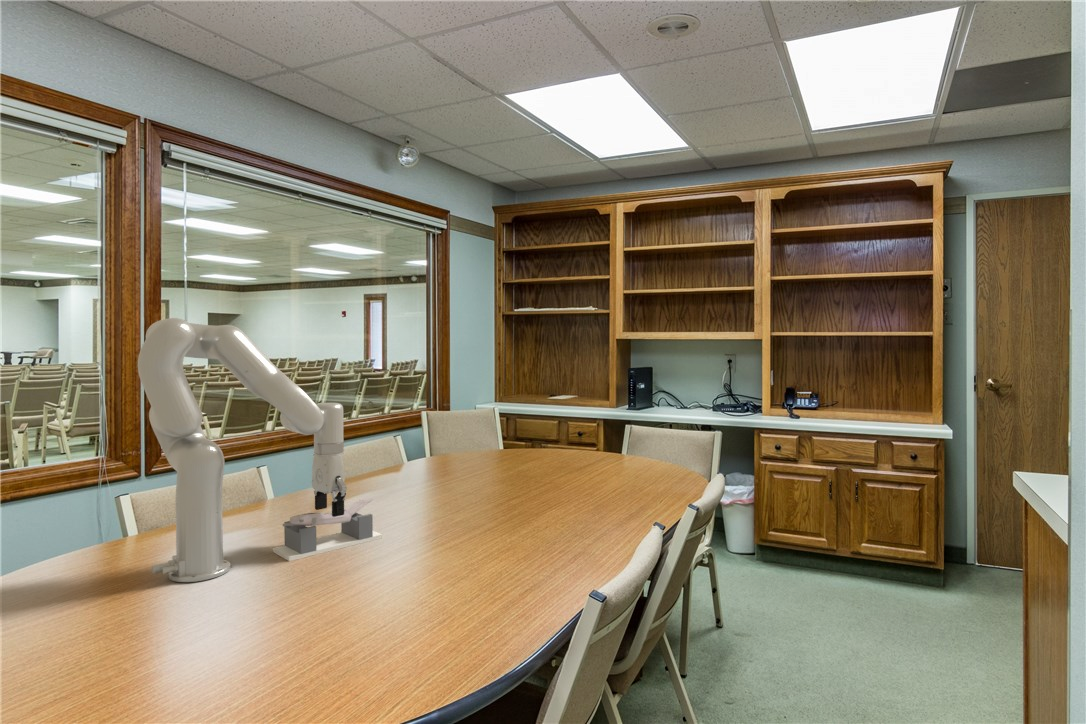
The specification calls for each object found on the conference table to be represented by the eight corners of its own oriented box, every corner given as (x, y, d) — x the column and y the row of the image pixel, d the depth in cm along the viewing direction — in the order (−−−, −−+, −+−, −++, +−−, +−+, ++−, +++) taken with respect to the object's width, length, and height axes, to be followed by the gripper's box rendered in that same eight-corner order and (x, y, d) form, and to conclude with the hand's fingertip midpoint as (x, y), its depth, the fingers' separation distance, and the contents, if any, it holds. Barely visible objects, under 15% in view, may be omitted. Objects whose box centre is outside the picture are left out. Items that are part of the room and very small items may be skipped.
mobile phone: (374, 498, 173) (295, 503, 152) (374, 519, 171) (294, 527, 151) (360, 499, 176) (281, 504, 156) (360, 520, 175) (280, 528, 155)
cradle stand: (289, 561, 150) (289, 532, 150) (273, 551, 157) (272, 524, 157) (382, 538, 169) (382, 512, 169) (364, 530, 176) (363, 505, 176)
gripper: (301, 446, 166) (301, 509, 166) (330, 454, 154) (331, 521, 154) (327, 443, 171) (327, 504, 172) (357, 450, 159) (358, 515, 160)
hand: (329, 512), depth 163 cm, fingers open, 9 cm apart
